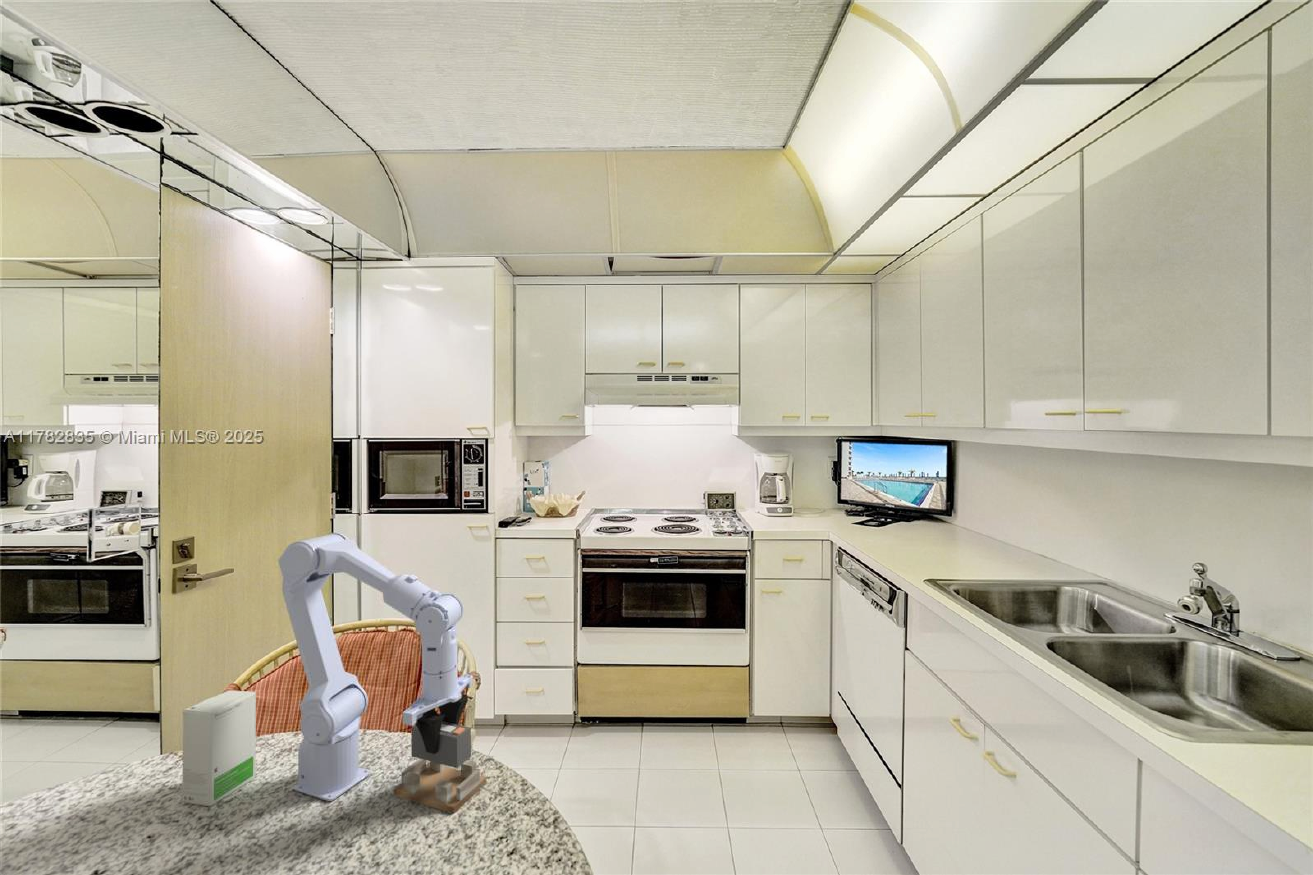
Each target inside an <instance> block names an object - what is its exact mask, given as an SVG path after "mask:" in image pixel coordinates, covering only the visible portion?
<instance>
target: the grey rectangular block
mask: <svg viewBox="0 0 1313 875" xmlns="http://www.w3.org/2000/svg"><path fill="white" fill-rule="evenodd" d="M410 730H411V731H410V732H411V743H410V744H411V747H410V748H411V751H410V752H411V757H413V758H416V759H423V760H426V762H427V761H428V762H430V761H431V762H435V763H439V764H443V765H445V766H446V767H450V768H454V769H458V768H459V767H461V765H462V764H463V763H464V762H465V761H466V760H469V759H470V758H471V757H472V728H471V727H469V726H464V725H460V724H458V725H456V724H452V723H447V722H442V725H441V730H440V741H439V749H438V752H437V753H436V754H432V753H428V752H426V749H425V746H424V742H423V739H422V736H421V734H420V732H419V730H418V728H417V726H416V725H415V724H414V726H413V725H412V727H411V728H410Z"/></svg>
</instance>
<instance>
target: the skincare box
mask: <svg viewBox="0 0 1313 875" xmlns="http://www.w3.org/2000/svg"><path fill="white" fill-rule="evenodd" d="M256 694H257V692H255V691H247V690H246V691H244V690H227V691H225V692H223V693H220V694H218V695H215V696H213V697H210V698H207V699H204V700H202V701H201V702H198V703H196V704H195V705H192V706H190V707H188V708H185V709H183V710H182V782H181V783H182V784H181V785H182V789H181V802H182V803H185V804H191V805H198V806H204V807H212V806H214V805H215V804H217V803H218V802H219V801H221V800H223V799H225V798H226V797H227V796H230V795H231V794H232V793H234V792H235V791H237V790H239V789H240V788H242V787H243V786H245V785H247V784H248V783H249V782H251V781H253V780H254V779H256V776H257V774H256V770H257V769H256V768H257V767H256V765H257V764H256V763H257V762H256V758H257V756H256V738H257V737H256V735H257V734H256V732H257V731H256V730H257V729H256V728H257V727H256V725H257V723H256V718H257V717H256V716H257V713H256V712H257V710H256V709H257V695H256Z"/></svg>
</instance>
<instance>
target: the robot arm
mask: <svg viewBox="0 0 1313 875" xmlns="http://www.w3.org/2000/svg"><path fill="white" fill-rule="evenodd" d="M277 562H278V565H279V569H280V571H281V575H282V584H281V585H282V587H281V591H282V596H283V599H284V603H285V606H286V607H285V608H286V609H287V613H288V616H289V620H290V624H291V627H292V630H293V634H294V637H295V641H296V646H297V647H298V652H299V656H300V659H301V662H302V666H303V669H304V672H305V676H306V679H307V680H306V681H307V683H308V688H307V691H306V693H305V695H303V698H302V699H301V702H300V704H299V709H300V714H301V718H300V727H299V728H300V731H301V735H302V736H303V739H301V742H300V744H299V747H298V751H297V757H298V758H297V765H298V768H297V770H298V771H297V772H298V773H297V778H298V779H297V780H298V781H297V784H294V786H293V789H292V790H294V791H297V792H300V793H303V794H306V795H307V796H308V795H309V796H311V797H315V798H317V799H321V800H324V801H327V802H332V801H334V800H335V799H337V798H338V797H340V796H341V795H342V794H344V793H346V792H347V791H348V790H350V789H351V788H352V787H354V786H356V785H357V784H359V783H360V782H361V781H363V780H364V779H366V778H368V777H369V776H370V775H371V774H372V772H371V770H369V769H366V768H362V767H360V723H361V722H362V715H363V714H364V713H365V712H366V711H367V708H368V706H369V698H368V694H367V692H366V691H365V689H364V688H363V687H362V685H361V684H360V683H359V680H358V676H357V675H355V674H354V673H353V674H352V673H350V672H347V671H345V669H344V668H345V667H344V665H343V662H342V658H341V654H340V651H339V648H338V644H337V640H336V637H335V634H334V630H333V628H332V627H333V626H332V623H331V621H330V620H331V619H330V615H329V613H328V609H327V607H326V603H325V600H324V596H323V591H322V589H323V587H324V586H325V584H326V583H327V581H328V580H329V578H330V577H331V575H333V574H339V573H345V574H347V575H349V576H350V577H352V578H354V579H356V580H358V581H360V582H361V583H364V584H366V585H367V586H370V587H371V588H373V589H375V590H376V591H379V592H380V593H382V598H383V599H382V600H383V602H384V603H385V604H386V605H388V606H389V607H391V608H392V609H394V610H396V611H397V612H399V613H401V614H402V615H403V616H405V617H407V618H408V619H410V620H411V621H413V623H414V627H415V629H416V631H417V632H418V634H419V635H420V644H421V660H422V661H421V664H422V666H421V667H422V668H421V671H422V672H421V673H422V674H421V680H422V687H421V688H422V689H421V690H422V691H421V692H422V694H421V695H419V696H418V697H417V698H416V700H414V702H413V703H412V704H410V706H409V707H408V708H406V709H405V710H404V711H402V724H403V725H407V726H412V727H413V725H414V726H415V725H416V726H417V728H418V730H419V732H420V734H421V736H422V739H423V742H424V746H425V749H426V752H428V753H432V754H436V753H437V752H438V749H439V741H440V730H441V725H442V722H447V723H452V724H456V725H459V722H460V721H461V716H462V715H463V711H464V709H465V706H466V705H467V704H468V701H469V696H468V695H467V694H463V693H462V692H463V691H464V690H465V689H470V688H472V687H473V686H474V676H473V675H470V674H463V675H461V676H458V624H457V623H458V622H459V621H460V620H461V619H462V617H463V614H464V613H463V612H464V608H463V604H462V602H461V600H460V599H459V598H458V597H457V596H456V595H455V594H453V593H449V592H446V593H440V591H439V590H437V589H432V588H430V587H429V586H427V585H426V584H424V583H423V582H420V581H419V580H418V579H419V577H418V576H417V575H415V574H412V573H411V574H408V573H404V574H400V575H399V574H398V575H396V574H394V573H393V572H392V571H391V570H389V569H388V568H386V567H385V566H384V565H382V564H381V563H380V562H378V561H376V560H375V559H374V558H373V557H371V556H370V555H368V554H367V553H366V552H365V551H363V550H361V549H360V548H359V546H358V545H357V542H356V541H355V540H354V539H351V538H348V537H347V536H346V535H345V534H343V533H341V532H331V533H328V534H326V535H321V536H317V537H313V538H309V539H305V540H297V541H294V542H292V543H290V544H289V545H288V546H286V548H285V550H284V551H283V553H282V554H281V556H280V557H279V558H278V561H277ZM436 708H438V710H439V713H438V710H436Z"/></svg>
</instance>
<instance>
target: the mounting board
mask: <svg viewBox="0 0 1313 875" xmlns="http://www.w3.org/2000/svg"><path fill="white" fill-rule="evenodd" d="M486 783H487V777H486V776H483V775H481V774H480V770H477V762H476V761H472V760H469V759H468V760H466V761H465V762H464V763H463V764H462V765H461V766H460V769H458V768H454V767H450V766H446V765H443V764H439V763H435V762H431V761H428V762H427V760H423V759H420V758H418V760H416V761H415V762H413V763H412V764H411V765H410V766H408V767H407V768H406V769H404V770H402V771H401V783H400V784H399V785H397V786H396V787H395V788H394V789H393V796H394V797H398V798H401V799H404V800H407V801H411V802H414V803H418V804H422V805H424V806H428V807H431V808H435V809H437V810H441V811H444V812H448V813H451V814H455V813H456V812H457V811H459V809H461V807H462V806H464V805H465V804H466V803H467V802H468V801H469V800H470V799H471V798H472V797H473V796H474V795H475V794H476V793H477V792H479V790H481V788H483V787H484V785H486Z"/></svg>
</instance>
